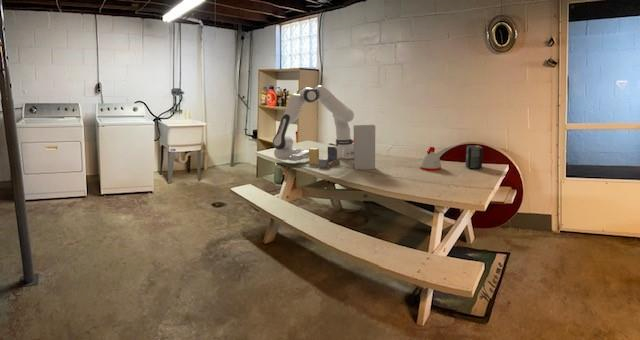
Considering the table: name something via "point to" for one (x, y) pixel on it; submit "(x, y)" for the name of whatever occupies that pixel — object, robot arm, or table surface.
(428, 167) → the grey and red dome
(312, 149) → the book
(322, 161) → the bookend
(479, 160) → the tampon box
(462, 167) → the table surface
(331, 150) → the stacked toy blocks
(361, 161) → the tall grey box
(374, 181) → the table surface
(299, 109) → the robot arm
